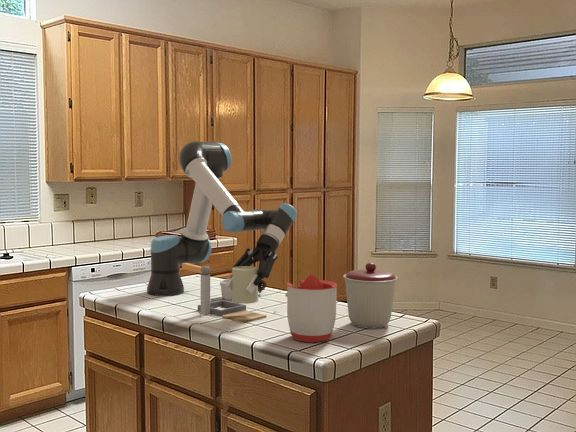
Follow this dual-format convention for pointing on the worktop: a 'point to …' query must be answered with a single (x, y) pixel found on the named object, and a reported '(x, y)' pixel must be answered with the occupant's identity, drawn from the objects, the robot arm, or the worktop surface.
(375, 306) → the canister
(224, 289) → the ramekin
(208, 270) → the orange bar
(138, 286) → the worktop surface
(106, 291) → the worktop surface
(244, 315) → the plate
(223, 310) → the socket
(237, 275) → the can
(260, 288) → the pottery mug
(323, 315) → the citrus juicer
